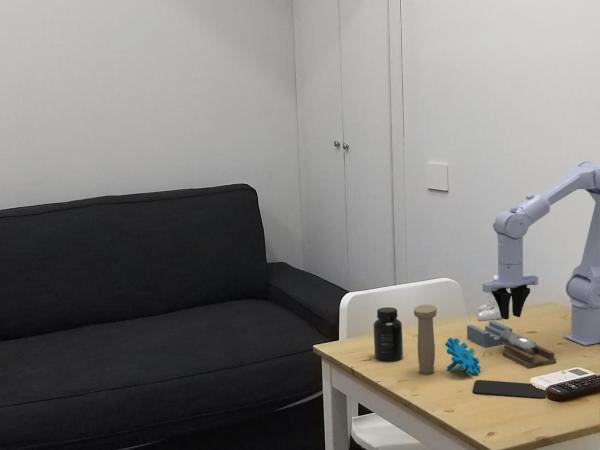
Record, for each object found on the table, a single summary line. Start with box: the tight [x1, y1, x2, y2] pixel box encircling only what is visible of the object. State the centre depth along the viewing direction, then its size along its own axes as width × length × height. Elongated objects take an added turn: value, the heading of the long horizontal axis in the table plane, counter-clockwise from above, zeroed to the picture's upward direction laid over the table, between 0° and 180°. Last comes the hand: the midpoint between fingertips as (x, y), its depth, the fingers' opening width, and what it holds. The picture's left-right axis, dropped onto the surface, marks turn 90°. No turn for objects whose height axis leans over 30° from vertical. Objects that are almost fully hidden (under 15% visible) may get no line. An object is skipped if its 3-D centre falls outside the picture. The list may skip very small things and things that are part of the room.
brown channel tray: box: [502, 344, 557, 369], centre depth 190 cm, size 8×10×2 cm
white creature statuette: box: [477, 274, 510, 322], centre depth 224 cm, size 10×9×12 cm
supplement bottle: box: [373, 306, 404, 362], centre depth 195 cm, size 7×7×12 cm
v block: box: [466, 320, 513, 348], centre depth 204 cm, size 8×8×4 cm
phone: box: [471, 379, 547, 400], centre depth 172 cm, size 7×1×15 cm
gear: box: [444, 337, 482, 376], centre depth 185 cm, size 11×6×10 cm
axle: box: [500, 330, 538, 355], centre depth 194 cm, size 10×4×4 cm, turn 21°
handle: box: [413, 304, 438, 375], centre depth 184 cm, size 5×6×15 cm
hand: (510, 317), depth 195 cm, fingers open, 3 cm apart
